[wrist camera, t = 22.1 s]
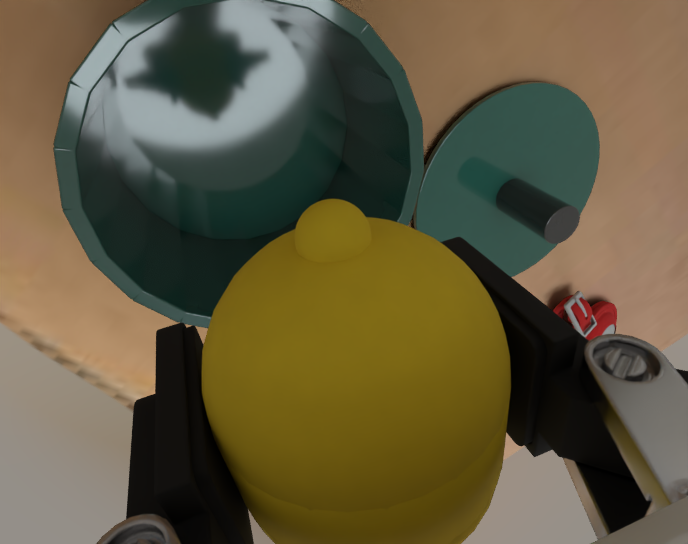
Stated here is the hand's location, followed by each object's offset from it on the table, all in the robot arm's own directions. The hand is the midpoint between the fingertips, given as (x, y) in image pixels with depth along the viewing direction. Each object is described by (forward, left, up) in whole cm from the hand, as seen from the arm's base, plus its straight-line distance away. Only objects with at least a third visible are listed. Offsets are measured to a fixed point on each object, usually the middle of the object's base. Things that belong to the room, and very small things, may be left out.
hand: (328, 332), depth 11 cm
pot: (0, 0, -20) cm, 20 cm away
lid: (+9, +19, -19) cm, 29 cm away
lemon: (0, 0, -1) cm, 1 cm away
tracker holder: (+27, +29, -20) cm, 45 cm away
